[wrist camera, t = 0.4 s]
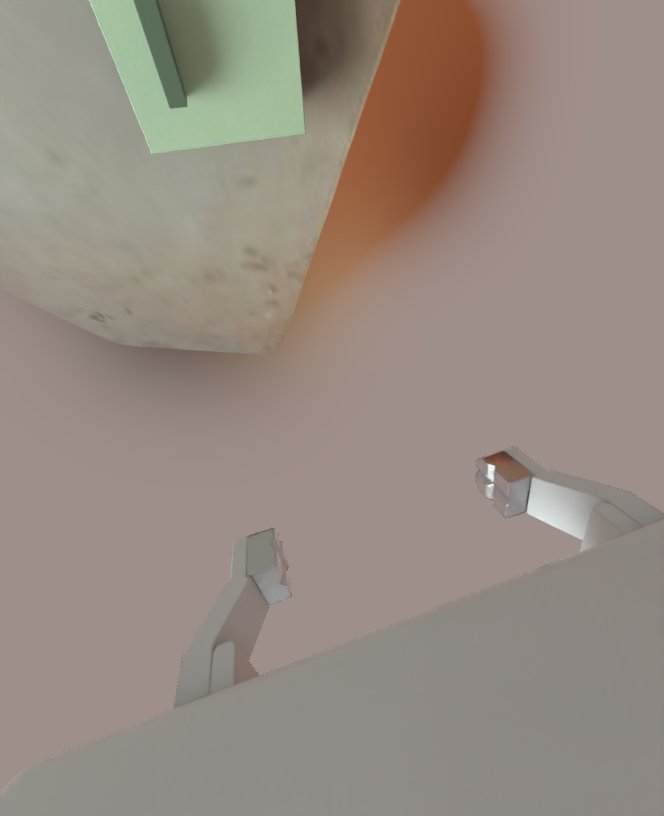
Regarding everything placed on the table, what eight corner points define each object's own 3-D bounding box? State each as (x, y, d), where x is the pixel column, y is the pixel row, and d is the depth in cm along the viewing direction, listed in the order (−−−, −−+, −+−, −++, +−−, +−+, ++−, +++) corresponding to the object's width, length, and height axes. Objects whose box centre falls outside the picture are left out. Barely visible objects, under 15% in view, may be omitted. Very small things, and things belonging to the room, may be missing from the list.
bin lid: (151, 152, 34) (149, 168, 31) (53, -92, 22) (34, -103, 19) (304, 132, 36) (315, 145, 33) (285, -98, 25) (300, -108, 22)
